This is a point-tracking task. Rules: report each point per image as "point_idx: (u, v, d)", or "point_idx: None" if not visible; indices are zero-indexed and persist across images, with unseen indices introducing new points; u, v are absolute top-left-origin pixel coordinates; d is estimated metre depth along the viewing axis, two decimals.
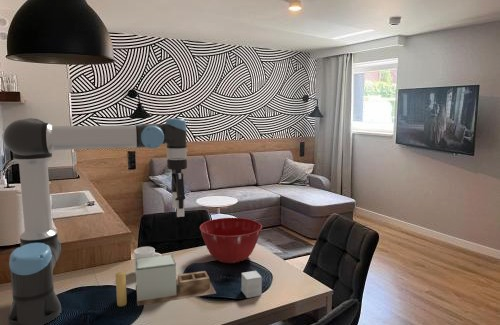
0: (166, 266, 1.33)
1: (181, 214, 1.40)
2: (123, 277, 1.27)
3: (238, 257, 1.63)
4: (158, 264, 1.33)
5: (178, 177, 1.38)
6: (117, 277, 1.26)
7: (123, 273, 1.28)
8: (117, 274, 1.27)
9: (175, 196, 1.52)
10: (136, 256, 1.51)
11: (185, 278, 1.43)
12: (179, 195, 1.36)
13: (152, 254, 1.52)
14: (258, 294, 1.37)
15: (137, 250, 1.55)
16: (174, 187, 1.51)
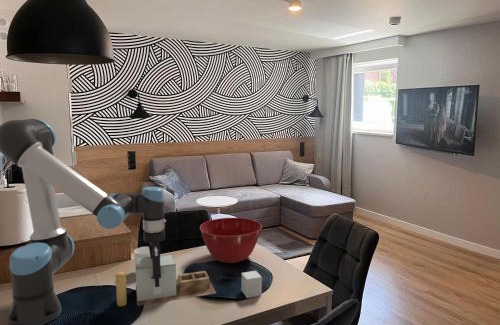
0: (166, 266, 1.33)
1: (157, 292, 1.32)
2: (123, 277, 1.27)
3: (238, 257, 1.63)
4: None
5: (154, 254, 1.29)
6: (117, 277, 1.26)
7: (123, 273, 1.28)
8: (117, 274, 1.27)
9: None
10: (136, 256, 1.51)
11: (185, 278, 1.43)
12: (155, 274, 1.28)
13: None
14: (258, 294, 1.37)
15: (137, 250, 1.55)
16: None
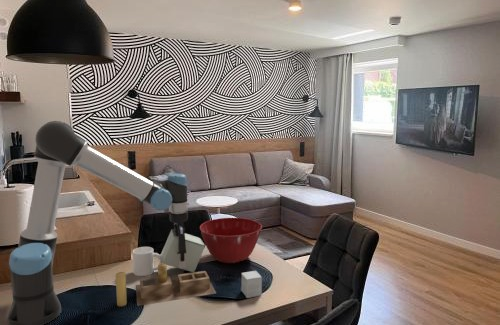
0: (197, 244, 1.52)
1: (183, 266, 1.51)
2: (123, 277, 1.27)
3: (238, 257, 1.63)
4: (191, 240, 1.53)
5: (180, 232, 1.47)
6: (117, 277, 1.26)
7: (123, 273, 1.28)
8: (117, 274, 1.27)
9: None
10: (135, 256, 1.50)
11: (185, 278, 1.43)
12: (181, 250, 1.47)
13: (151, 254, 1.52)
14: (258, 294, 1.37)
15: (136, 250, 1.55)
16: None
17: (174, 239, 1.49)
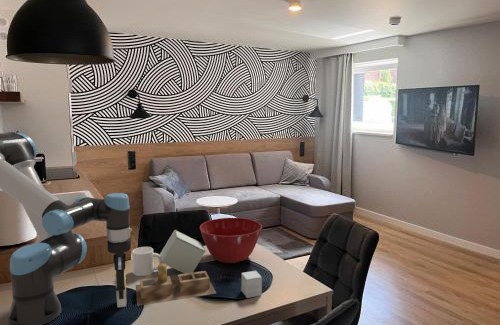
0: (198, 248, 1.52)
1: (122, 304, 1.27)
2: None
3: (238, 257, 1.63)
4: (192, 243, 1.53)
5: (118, 269, 1.21)
6: None
7: None
8: None
9: None
10: (134, 256, 1.50)
11: (185, 278, 1.43)
12: (118, 287, 1.23)
13: (150, 254, 1.52)
14: (258, 294, 1.37)
15: (136, 250, 1.55)
16: None
17: (176, 240, 1.49)
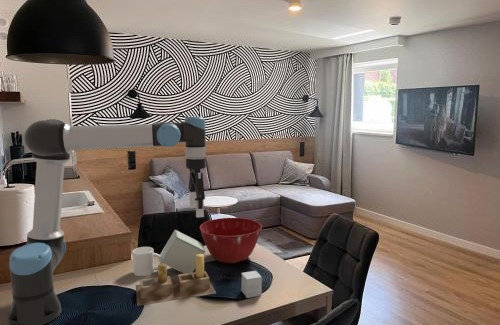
0: (197, 249, 1.52)
1: (200, 214, 1.37)
2: (202, 258, 1.41)
3: (238, 257, 1.63)
4: (192, 243, 1.53)
5: (198, 177, 1.35)
6: (197, 258, 1.40)
7: (201, 255, 1.42)
8: (197, 255, 1.41)
9: (193, 196, 1.49)
10: (134, 256, 1.50)
11: (185, 278, 1.43)
12: (199, 195, 1.33)
13: (150, 254, 1.52)
14: (258, 294, 1.37)
15: (136, 250, 1.55)
16: (192, 187, 1.48)
17: (176, 240, 1.49)
